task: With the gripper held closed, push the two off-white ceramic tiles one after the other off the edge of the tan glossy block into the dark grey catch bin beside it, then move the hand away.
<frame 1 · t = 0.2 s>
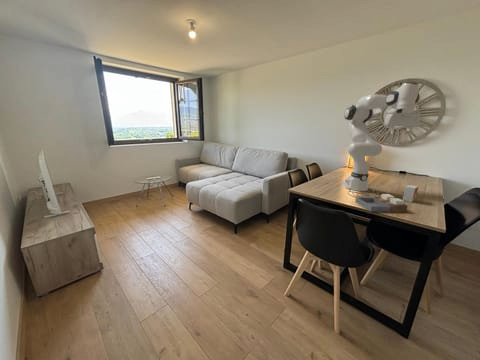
hand: (399, 133, 125), 47 cm above the table, tool pointing down, fingers open, 8 cm apart
catch bin: (371, 206, 131), on the table
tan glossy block: (388, 206, 131), on the table
tile B: (396, 203, 126), point 4 cm above the table, touching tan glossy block
tile A: (387, 198, 134), point 4 cm above the table, touching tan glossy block
small box: (408, 200, 143), on the table
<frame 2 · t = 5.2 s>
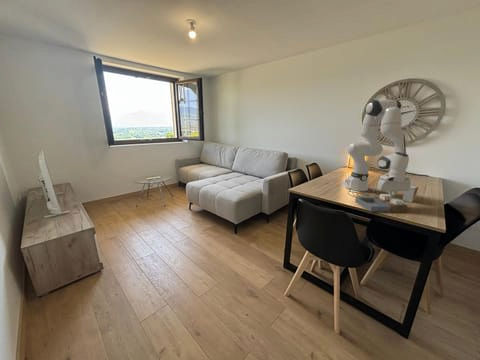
hand: (391, 197, 134), 5 cm above the table, tool pointing down, fingers closed
tile A: (385, 198, 134), point 4 cm above the table, touching gripper
everything else where it was.
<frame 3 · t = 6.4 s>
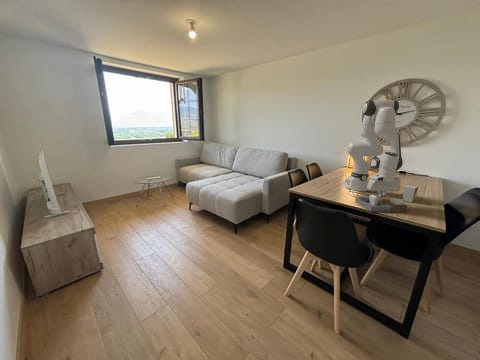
hand: (381, 196, 133), 5 cm above the table, tool pointing down, fingers closed
tile A: (375, 199, 134), point 3 cm above the table, tilted 99°, touching catch bin
everything else where it was.
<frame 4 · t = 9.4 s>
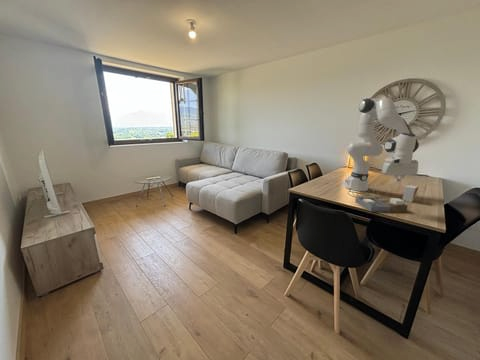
hand: (397, 181, 126), 18 cm above the table, tool pointing down, fingers closed
tile A: (368, 200, 133), point 3 cm above the table, tilted 180°, touching catch bin
everything else where it was.
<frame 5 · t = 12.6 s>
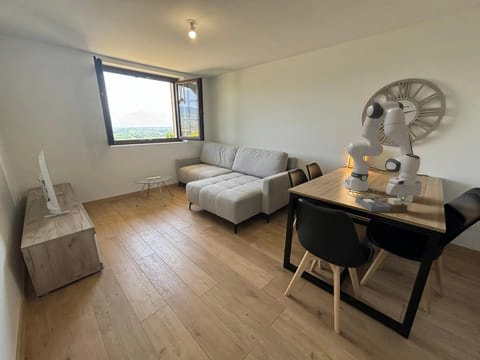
hand: (400, 201, 126), 5 cm above the table, tool pointing down, fingers closed
tile B: (394, 203, 126), point 4 cm above the table, touching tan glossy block, gripper
everything else where it was.
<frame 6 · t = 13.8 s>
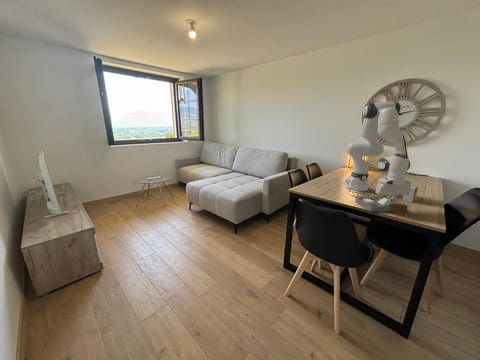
hand: (390, 201, 126), 5 cm above the table, tool pointing down, fingers closed
tile B: (384, 204, 126), point 3 cm above the table, tilted 36°, touching catch bin
everything else where it was.
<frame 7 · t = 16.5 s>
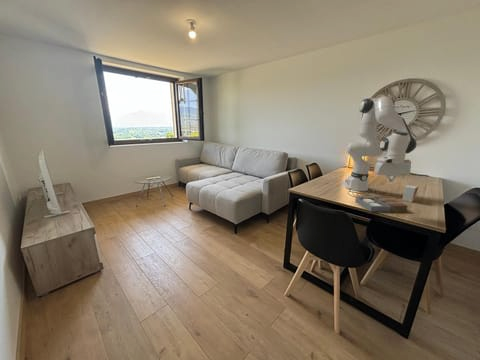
hand: (389, 181, 122), 18 cm above the table, tool pointing down, fingers closed
tile B: (375, 204, 126), point 3 cm above the table, tilted 180°, touching catch bin
everything else where it was.
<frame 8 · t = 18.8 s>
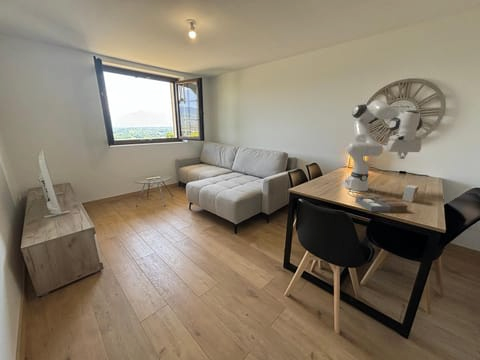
hand: (401, 158, 129), 31 cm above the table, tool pointing down, fingers closed
nothing on the table moved.
at the end: tile A inside the target area (3.7 cm from its centre), point 3.0 cm above the table; tile B inside the target area (4.2 cm from its centre), point 3.0 cm above the table; small box moved 0.3 cm from its start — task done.
